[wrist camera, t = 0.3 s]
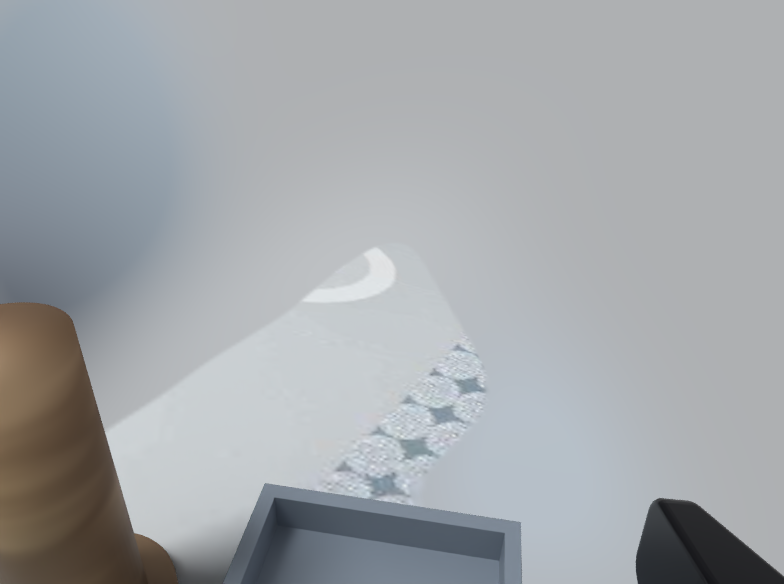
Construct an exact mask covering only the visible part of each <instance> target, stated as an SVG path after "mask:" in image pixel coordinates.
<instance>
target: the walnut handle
mask: <svg viewBox="0 0 784 584" xmlns="http://www.w3.org/2000/svg"><path fill="white" fill-rule="evenodd" d="M0 584H179V583H178V579H177V575H176V571H175V567H174V565H173V562H172V560H171V558H170V556H169V555H168V553H167V552H166V551H165V550H164V549H163V547H161V546H160V545H159V544H158V543H156V542H155V541H153V540H151V539H150V538H148V537H145V536H142V535H139V534H135V533H134V532H133V529H132V525H131V522H130V518H129V515H128V511H127V508H126V504H125V501H124V497H123V494H122V490H121V487H120V483H119V480H118V476H117V473H116V470H115V466H114V463H113V459H112V456H111V452H110V449H109V445H108V442H107V438H106V435H105V431H104V428H103V424H102V421H101V418H100V414H99V411H98V407H97V404H96V400H95V397H94V393H93V390H92V386H91V383H90V379H89V376H88V372H87V369H86V365H85V362H84V359H83V355H82V351H81V348H80V344H79V341H78V338H77V334H76V331H75V327H74V324H73V321H72V319H71V318H70V316H69V315H68V314H66V313H65V312H64V311H62V310H60V309H58V308H56V307H53V306H50V305H46V304H39V303H7V304H0Z"/></svg>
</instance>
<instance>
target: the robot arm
mask: <svg viewBox="0 0 784 584" xmlns="http://www.w3.org/2000/svg"><path fill="white" fill-rule="evenodd" d="M636 574H637V580H638V584H784V576H783V575H782V574H780V573H779V572H778V571H777V570H776V569H774V568H773V567H772V566H771V565H770V564H768V563H767V562H766V561H765V560H763V559H762V558H761V557H760V556H759V555H758V554H756V553H755V552H754V551H753V550H752V549H750V548H749V547H748V546H747V545H745V544H744V543H743V542H742V541H741V540H739V539H738V538H737V537H736V536H735V535H733V534H732V533H731V532H730V531H729V530H727V529H726V528H725V527H724V526H723V525H722V524H720V523H719V522H718V521H717V520H715V519H714V518H713V517H712V516H711V515H710V514H708V513H707V512H706V511H705V510H704V509H702V508H701V507H700V506H698V505H697V504H695V503H693V502H691V501H685V500H673V499H664V498H659V499H657V500H655V501H653V503H652V504H651V505H650V508H649V511H648V514H647V518H646V521H645V525H644V529H643V532H642V536H641V540H640V544H639V547H638V551H637V556H636Z"/></svg>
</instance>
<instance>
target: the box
mask: <svg viewBox="0 0 784 584" xmlns="http://www.w3.org/2000/svg"><path fill="white" fill-rule="evenodd" d="M521 565H522V564H521V523H520V522H516V521H509V520H503V519H496V518H489V517H483V516H476V515H470V514H463V513H457V512H450V511H443V510H437V509H430V508H424V507H417V506H411V505H404V504H398V503H391V502H384V501H378V500H371V499H365V498H358V497H352V496H345V495H338V494H332V493H325V492H319V491H312V490H306V489H299V488H292V487H286V486H279V485H273V484H266V483H265V484H264V487H263V489H262V491H261V494H260V496H259V499H258V501H257V503H256V506H255V508H254V510H253V513H252V515H251V518H250V520H249V522H248V525H247V527H246V529H245V532H244V534H243V536H242V539H241V541H240V544H239V546H238V548H237V551H236V553H235V555H234V558H233V560H232V563H231V565H230V567H229V570H228V572H227V574H226V577H225V579H224V582H223V584H522V569H521V568H522V566H521Z"/></svg>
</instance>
